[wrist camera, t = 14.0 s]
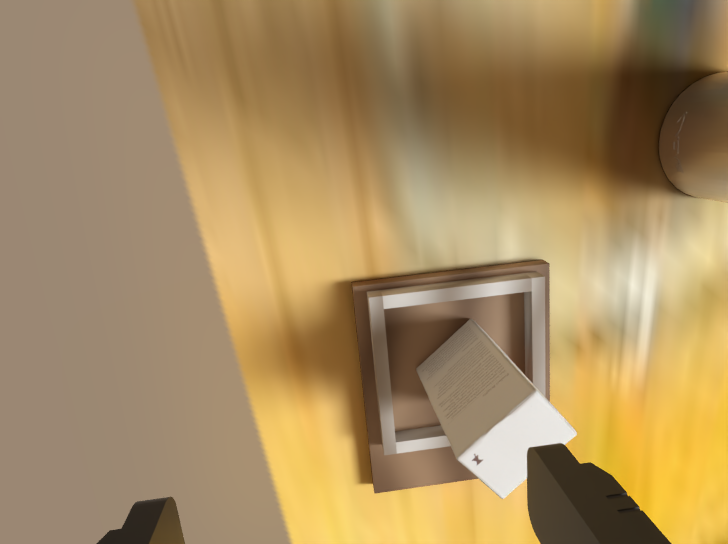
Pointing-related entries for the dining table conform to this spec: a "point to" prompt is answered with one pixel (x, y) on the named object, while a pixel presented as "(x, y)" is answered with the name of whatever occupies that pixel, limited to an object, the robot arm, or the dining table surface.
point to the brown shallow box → (422, 338)
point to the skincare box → (489, 408)
